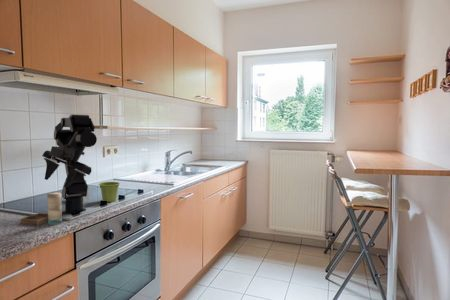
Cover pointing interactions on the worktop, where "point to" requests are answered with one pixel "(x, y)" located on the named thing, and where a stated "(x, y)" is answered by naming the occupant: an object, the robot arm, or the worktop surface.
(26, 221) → the walnut socket tray
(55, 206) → the birch sleeve
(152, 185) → the worktop surface
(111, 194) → the plant pot
